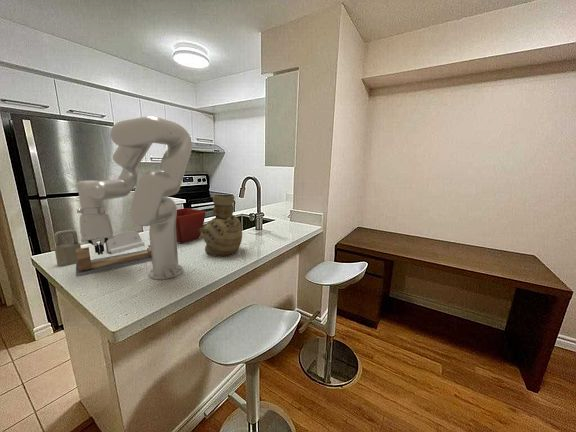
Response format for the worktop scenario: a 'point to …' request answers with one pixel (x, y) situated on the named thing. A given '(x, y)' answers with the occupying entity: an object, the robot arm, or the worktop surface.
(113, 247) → the hinge
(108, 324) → the worktop surface
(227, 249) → the ceramic vessel
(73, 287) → the worktop surface
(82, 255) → the slider leg
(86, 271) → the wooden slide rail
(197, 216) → the plant pot
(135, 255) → the rail
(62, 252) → the padlock
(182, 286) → the worktop surface
